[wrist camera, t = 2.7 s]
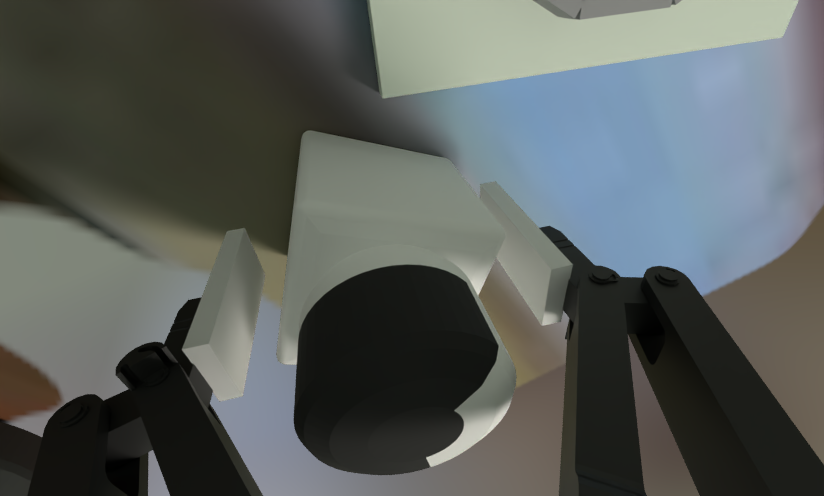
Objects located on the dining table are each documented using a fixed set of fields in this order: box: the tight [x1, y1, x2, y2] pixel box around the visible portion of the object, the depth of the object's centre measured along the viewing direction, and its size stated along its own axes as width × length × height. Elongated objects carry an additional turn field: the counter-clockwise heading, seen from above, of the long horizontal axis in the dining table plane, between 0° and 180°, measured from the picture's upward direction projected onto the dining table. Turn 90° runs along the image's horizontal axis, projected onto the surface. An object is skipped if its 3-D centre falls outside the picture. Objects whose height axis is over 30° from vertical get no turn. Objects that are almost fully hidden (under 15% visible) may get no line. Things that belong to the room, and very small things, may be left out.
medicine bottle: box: [276, 130, 516, 475], centre depth 14 cm, size 7×7×12 cm
